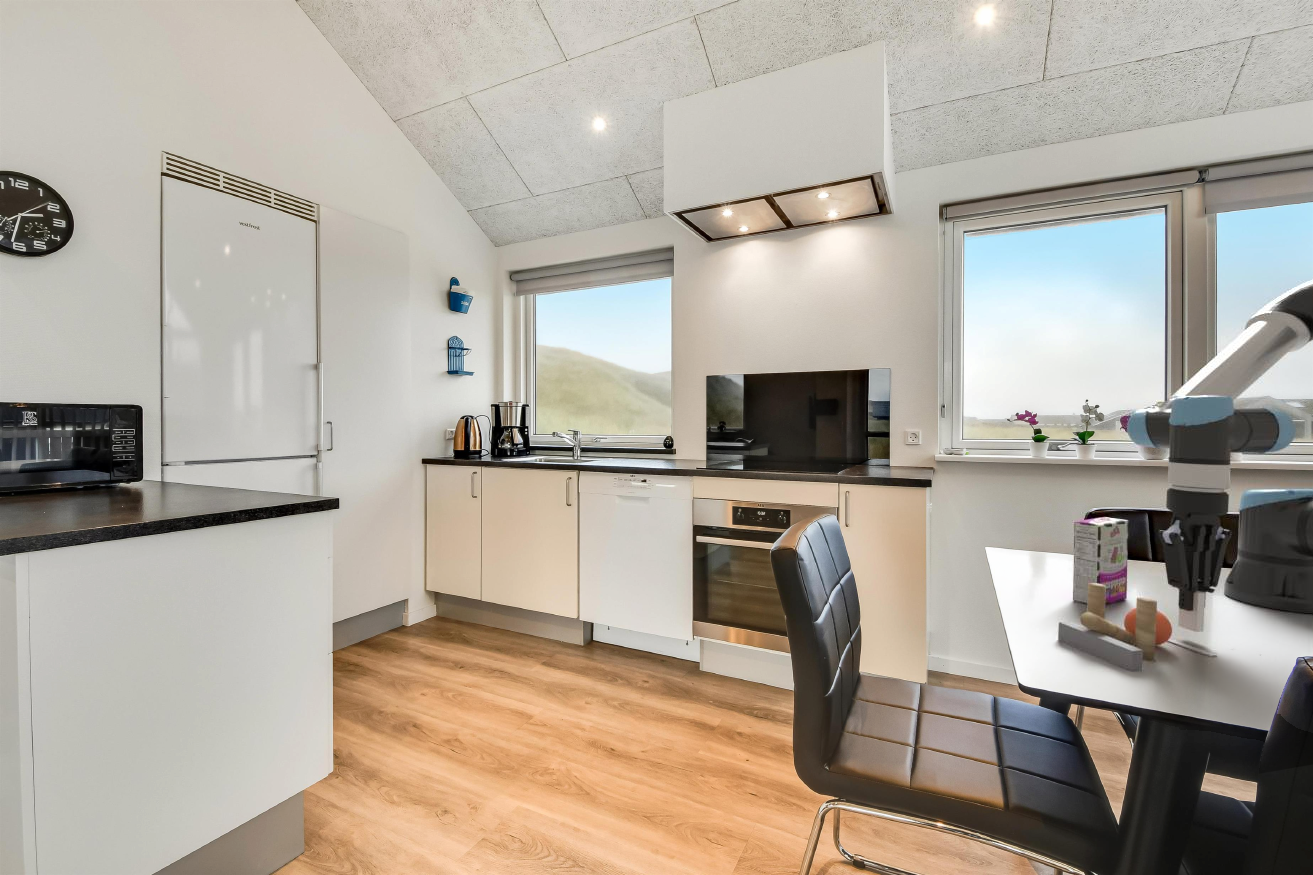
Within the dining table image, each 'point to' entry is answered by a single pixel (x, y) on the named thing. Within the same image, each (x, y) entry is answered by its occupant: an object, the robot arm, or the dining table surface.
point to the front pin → (1106, 628)
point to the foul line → (1191, 648)
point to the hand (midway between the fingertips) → (1190, 628)
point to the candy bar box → (1100, 557)
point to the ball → (1161, 626)
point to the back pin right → (1096, 599)
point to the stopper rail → (1101, 645)
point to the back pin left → (1146, 627)
